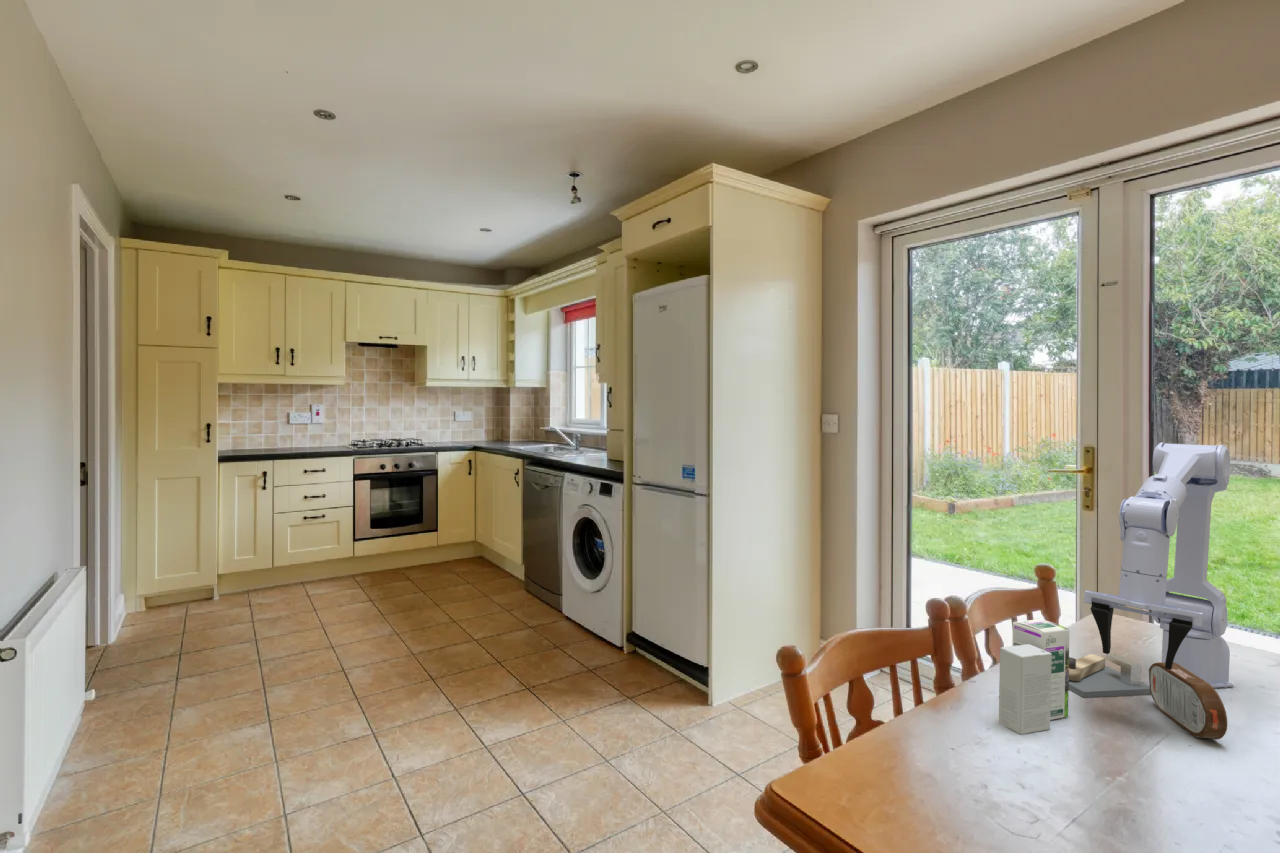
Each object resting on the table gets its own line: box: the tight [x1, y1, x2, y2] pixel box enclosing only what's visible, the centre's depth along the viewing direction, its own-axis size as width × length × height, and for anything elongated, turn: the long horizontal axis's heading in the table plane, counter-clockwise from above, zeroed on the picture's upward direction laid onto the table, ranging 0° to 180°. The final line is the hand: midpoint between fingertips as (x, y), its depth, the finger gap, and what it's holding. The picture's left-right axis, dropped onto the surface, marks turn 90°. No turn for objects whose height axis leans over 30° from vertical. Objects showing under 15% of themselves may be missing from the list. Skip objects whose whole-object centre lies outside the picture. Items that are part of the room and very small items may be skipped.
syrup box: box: [1011, 618, 1070, 721], centre depth 102 cm, size 6×6×14 cm
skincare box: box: [998, 644, 1052, 735], centre depth 97 cm, size 6×4×12 cm
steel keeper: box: [1104, 653, 1142, 686], centre depth 113 cm, size 2×5×4 cm, turn 7°
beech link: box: [1069, 653, 1106, 681], centre depth 115 cm, size 12×3×3 cm, turn 123°
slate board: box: [1068, 665, 1152, 699], centre depth 114 cm, size 14×11×1 cm
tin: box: [1148, 661, 1228, 740], centre depth 99 cm, size 15×3×8 cm, turn 168°
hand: (1136, 660), depth 98 cm, fingers open, 7 cm apart
